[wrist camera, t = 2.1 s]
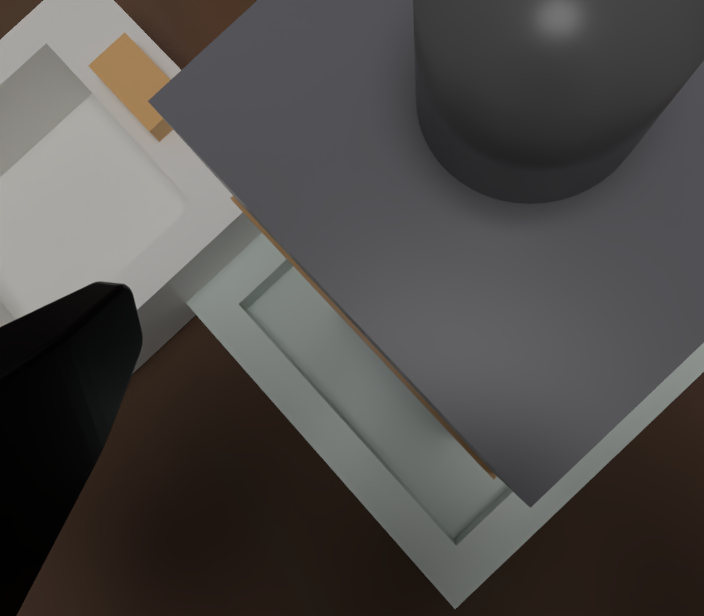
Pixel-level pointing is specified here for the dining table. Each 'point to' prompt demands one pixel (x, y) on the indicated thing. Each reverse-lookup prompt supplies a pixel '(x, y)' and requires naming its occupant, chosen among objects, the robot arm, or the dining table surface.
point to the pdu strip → (102, 173)
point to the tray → (389, 423)
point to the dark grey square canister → (477, 197)
